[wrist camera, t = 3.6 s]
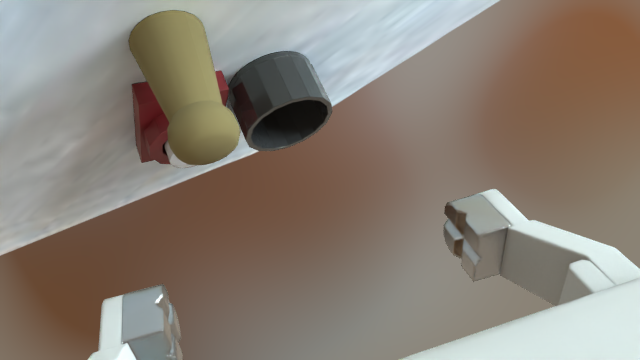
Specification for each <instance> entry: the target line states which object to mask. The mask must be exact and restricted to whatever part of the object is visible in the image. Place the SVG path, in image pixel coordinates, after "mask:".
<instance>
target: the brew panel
mask: <svg viewBox="0 0 640 360" xmlns="http://www.w3.org/2000/svg"><path fill="white" fill-rule="evenodd" d="M215 74H216V78H217V83H218V87H219V91H220V95H221V99H222V104H223V105H224V106H225V107H226V102H227V97H228V92H229V88H228V86H227V83H226V81H225V78H224V76H223V74H222V71H216V72H215ZM132 93H133V108H134V122H135V136H136V146H137V149H138V152H139V156H140V159H141V162H142V163H144V162H148V161H153V160H156V161H157V162H159V163H160V164H170V161H169V159H168V156H167V153H166V150H165V146H164V145H165V142H166V141H167V140H168V134H167V128H168V126H169V121H168V119H167V118H166V116H165V114H164V112H163V110H162V108H161V106H160V104H159V103H158V101H157V99H156V97H155V95H154V93H153V91H152V90H151V88H150V86H149V84H148V82H143V83H137V84H132Z"/></svg>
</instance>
